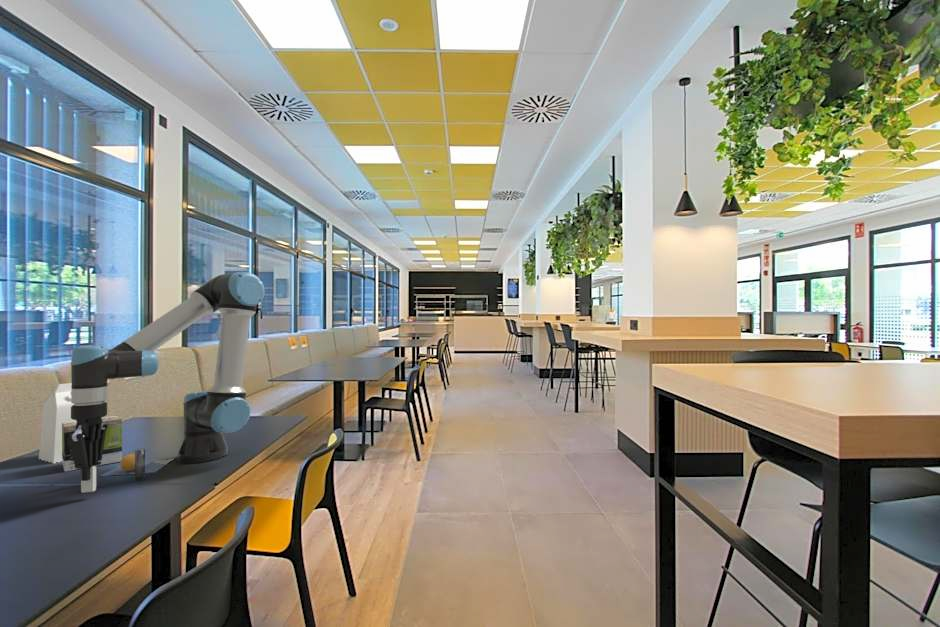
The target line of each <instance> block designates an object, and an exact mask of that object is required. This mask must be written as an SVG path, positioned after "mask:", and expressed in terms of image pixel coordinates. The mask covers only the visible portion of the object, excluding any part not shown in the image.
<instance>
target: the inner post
mask: <svg viewBox="0 0 940 627" xmlns="http://www.w3.org/2000/svg"><path fill="white" fill-rule="evenodd" d="M134 454H135V474H134V482H135V481H138V482H143V481H144V480H146V479H145V478H146V473H145V460H146V449H145V448H137V449H135V450H134ZM142 480H143V481H142Z"/></svg>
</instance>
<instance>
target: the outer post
mask: <svg viewBox="0 0 940 627" xmlns="http://www.w3.org/2000/svg"><path fill="white" fill-rule="evenodd" d="M98 467H99V465H96V484H98Z"/></svg>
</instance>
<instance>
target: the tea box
mask: <svg viewBox="0 0 940 627" xmlns="http://www.w3.org/2000/svg"><path fill="white" fill-rule="evenodd" d="M101 418H102V424H108V427H107V430H106V434H105V441H104V448H103V455H102V460H101V461H98V462H101V464H100V465H99V466H103V465H109V464H113V463H120V462H121V460H122V458H123V424H122V423H123V422H122V420H123V419H122V418H121V417H119V416H118V415H110V416H104V417H101ZM76 424H77V421H72V422H64V423H62V462H61V463H62V467H63V471H64V472H71V471H77V470H78V469H76V468H75V464H74V458H73V452H72V446H71V442H70V440H69V435H70V434H74V433H75V431H76V429H75V427H76ZM79 470H81V468H80V469H79Z"/></svg>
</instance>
